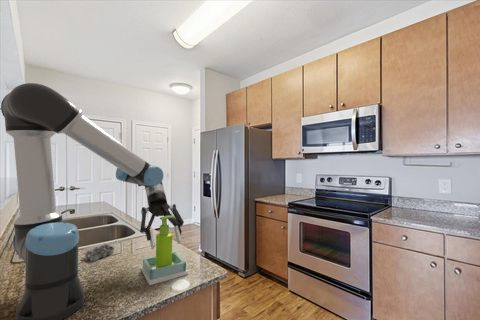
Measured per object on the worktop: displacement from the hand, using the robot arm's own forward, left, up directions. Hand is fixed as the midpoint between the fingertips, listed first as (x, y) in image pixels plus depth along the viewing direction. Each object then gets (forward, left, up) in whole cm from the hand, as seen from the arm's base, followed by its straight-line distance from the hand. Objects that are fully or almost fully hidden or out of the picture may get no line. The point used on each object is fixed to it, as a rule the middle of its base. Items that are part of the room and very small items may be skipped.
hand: (166, 244), depth 86 cm
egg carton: (-20, +33, -12) cm, 40 cm away
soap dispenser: (0, +3, -10) cm, 11 cm away
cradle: (0, +3, -11) cm, 12 cm away
